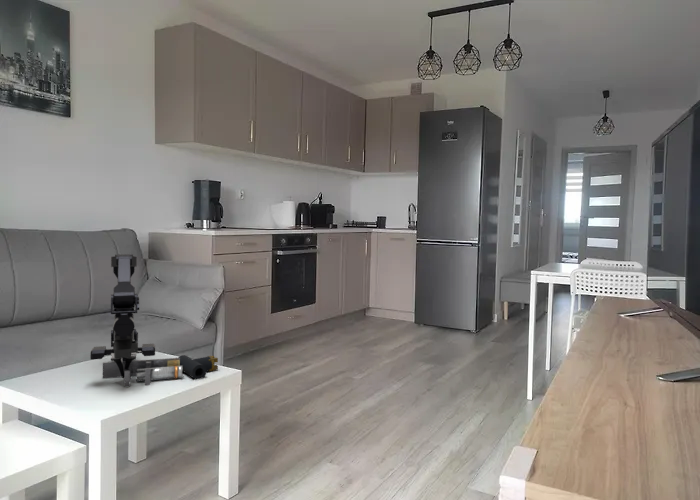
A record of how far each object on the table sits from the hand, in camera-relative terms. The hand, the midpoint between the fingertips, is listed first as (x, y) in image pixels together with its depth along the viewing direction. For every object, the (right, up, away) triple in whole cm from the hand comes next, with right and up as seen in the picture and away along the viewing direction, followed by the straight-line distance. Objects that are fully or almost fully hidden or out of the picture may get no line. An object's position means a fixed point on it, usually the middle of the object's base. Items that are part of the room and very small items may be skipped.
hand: (123, 377), depth 163 cm
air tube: (+10, -2, +4) cm, 11 cm away
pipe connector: (+20, -2, +14) cm, 25 cm away
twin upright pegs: (+4, -2, +2) cm, 4 cm away
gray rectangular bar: (+3, -1, +7) cm, 7 cm away
